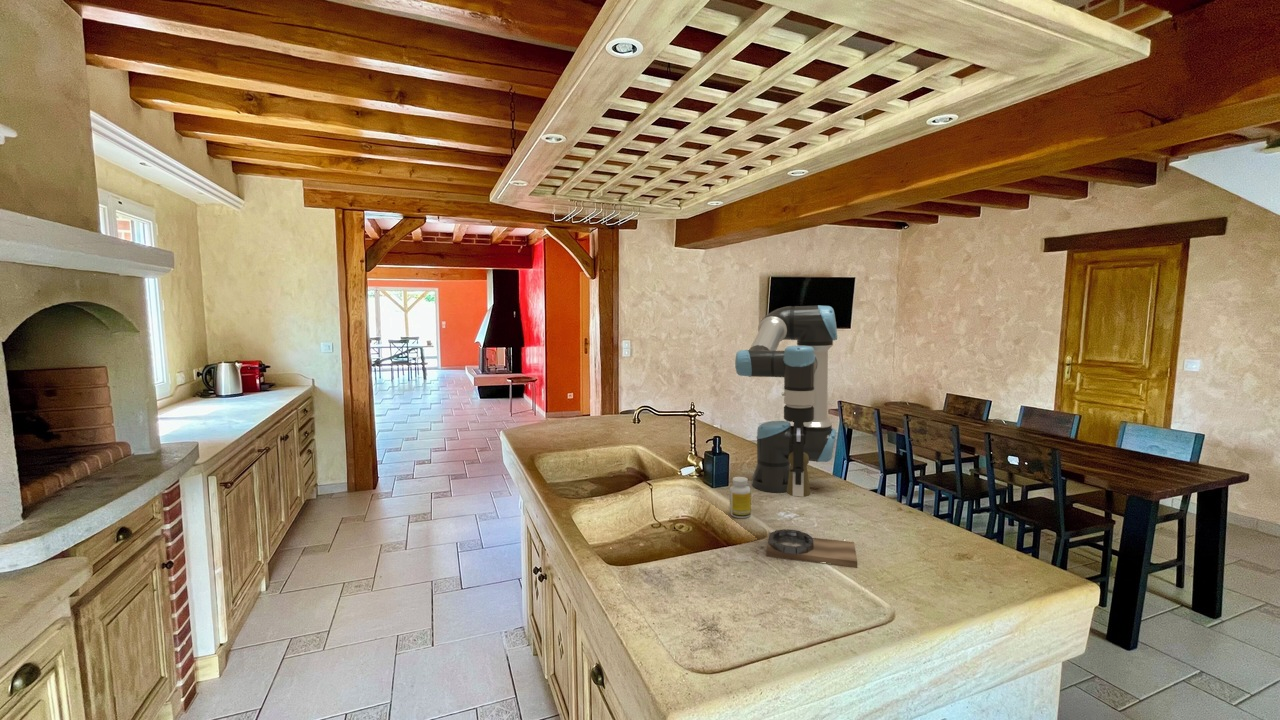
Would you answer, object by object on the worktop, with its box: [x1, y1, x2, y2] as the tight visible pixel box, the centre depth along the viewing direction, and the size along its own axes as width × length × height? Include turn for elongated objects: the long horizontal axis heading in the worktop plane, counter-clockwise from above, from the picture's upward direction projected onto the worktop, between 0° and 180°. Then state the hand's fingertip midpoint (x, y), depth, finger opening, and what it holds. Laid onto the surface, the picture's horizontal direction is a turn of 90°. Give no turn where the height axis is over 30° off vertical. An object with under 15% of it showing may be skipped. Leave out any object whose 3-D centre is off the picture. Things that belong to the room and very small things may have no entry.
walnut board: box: [765, 532, 858, 568], centre depth 137 cm, size 11×22×2 cm, turn 72°
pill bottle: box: [729, 476, 752, 519], centre depth 162 cm, size 6×6×12 cm
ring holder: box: [768, 528, 814, 554], centre depth 138 cm, size 11×11×2 cm
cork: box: [786, 452, 811, 498], centre depth 137 cm, size 6×6×11 cm
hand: (798, 491), depth 137 cm, fingers closed on cork, 6 cm apart
